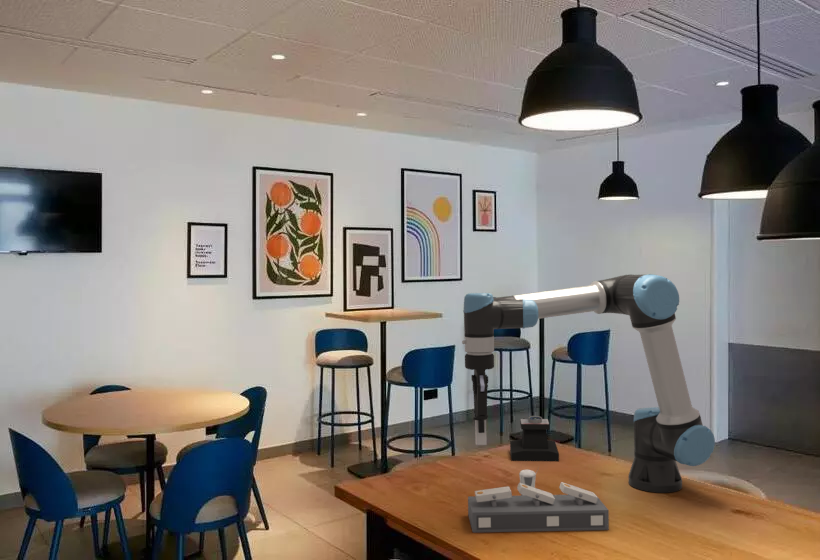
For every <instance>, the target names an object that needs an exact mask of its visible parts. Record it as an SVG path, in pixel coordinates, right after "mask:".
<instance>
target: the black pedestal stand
mask: <svg viewBox="0 0 820 560" xmlns="http://www.w3.org/2000/svg"><path fill="white" fill-rule="evenodd" d="M519 422H520V429H521V430H522V433H521V438H520V439H515V440H514V439H513V440H510V443H509V446H510V447H509V449H510V450H509V452H510V460H511V462H560V453H559V450H558V447H557V443H556V441H555V440H551V439H548V433H547V430H549V431H550V422H549V419H548V418H543V417H542V416H539V415H530V416H528V418H520V421H519Z"/></svg>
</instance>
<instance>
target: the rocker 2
mask: <svg viewBox="0 0 820 560" xmlns="http://www.w3.org/2000/svg"><path fill="white" fill-rule="evenodd" d="M559 490H560V491H561V492H562V493H563V494H564V495H571V496H574V497H577V498H580V499H584V500H587V501H590V502H593V503H596V502H597V499H598V498H599V497H598V496H597V494H596V495H595V492H593V491H590V490H587V489H584V488H582V487H578V486H576V485H572V484H569V483H566V482H563V481H561V482H560V484H559Z"/></svg>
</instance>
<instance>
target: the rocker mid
mask: <svg viewBox="0 0 820 560" xmlns="http://www.w3.org/2000/svg"><path fill="white" fill-rule="evenodd" d="M516 489H517V491H518V492H519V495H521V494H523V495H526V496H529V497H532V498H535V499H538V500H541V501H544V502H547V503H550V504H553V503H554V500H555V498H554V496H553V495H554V494H553V493H551V492H549V491H545V490H543V489H539V488H536V487H535V488H534V487H531V486H528V485H525V484H522V483H520V482H518V484H517V487H516Z"/></svg>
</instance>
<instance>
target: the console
mask: <svg viewBox="0 0 820 560" xmlns="http://www.w3.org/2000/svg"><path fill="white" fill-rule="evenodd" d="M594 494H595V493H594ZM552 495H553V496H554V498H555V500H554V503H553V504H550V503H547V502H544V501H541V500H538V499H535V498H532V497H529V496H526V495H521V494H520V495H512V497H511V498H504V499H497V500H490V501H483V502H477V500H476V497H475V495H474V496H467V513H468V514H467V515H468V520H469V524H470V527H471V532H472V533H511V532H513V533H514V532H515V533H518V532H523V533H524V532H563V531H564V532H565V531H566V532H567V531H568V532H570V531H572V532H573V531H574V532H575V531H576V532H577V531H608V530H609V528H610V526H609V525H610V522H609V521H610V520H609V519H610V517H609V515H610V513H609V512H610V511H609V509H608V508H607V506H606V505H605V504H604V503H603V502H602V501H601V499H600V498H599V497H598V499H597V502H596V503H593V502H590V501H587V500H584V499H580V498H577V497H574V496H571V495H568V494H552ZM595 495H596V496H597V494H595Z"/></svg>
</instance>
